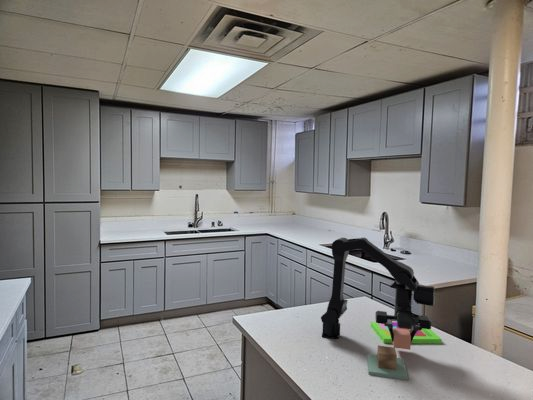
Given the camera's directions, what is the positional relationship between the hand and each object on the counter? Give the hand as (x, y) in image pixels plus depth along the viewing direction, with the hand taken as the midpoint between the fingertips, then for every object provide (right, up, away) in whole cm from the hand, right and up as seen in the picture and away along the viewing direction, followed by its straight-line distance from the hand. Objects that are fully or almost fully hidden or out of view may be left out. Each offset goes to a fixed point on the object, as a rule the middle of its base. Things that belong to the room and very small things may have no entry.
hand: (401, 342), depth 132 cm
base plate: (-9, -4, -11) cm, 15 cm away
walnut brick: (-9, -3, -11) cm, 15 cm away
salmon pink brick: (0, -1, 0) cm, 1 cm away
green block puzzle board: (+7, -3, +20) cm, 21 cm away
